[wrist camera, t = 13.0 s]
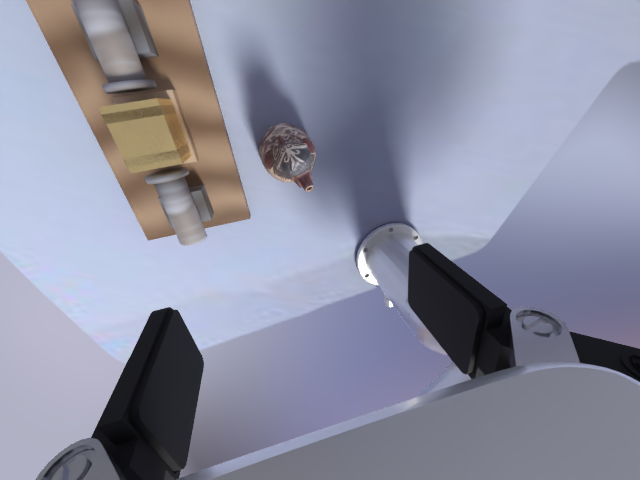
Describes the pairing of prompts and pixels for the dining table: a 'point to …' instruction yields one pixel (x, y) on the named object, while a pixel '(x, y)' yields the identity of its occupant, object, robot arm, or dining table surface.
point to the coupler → (147, 134)
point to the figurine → (288, 155)
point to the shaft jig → (142, 84)
